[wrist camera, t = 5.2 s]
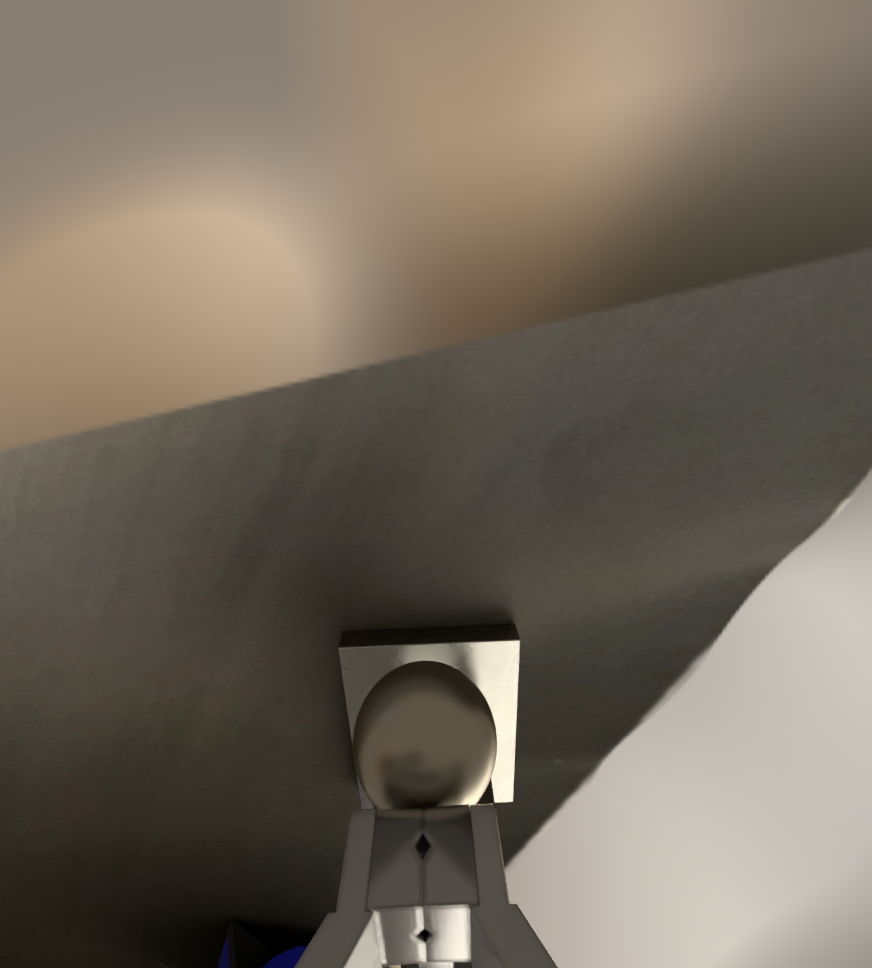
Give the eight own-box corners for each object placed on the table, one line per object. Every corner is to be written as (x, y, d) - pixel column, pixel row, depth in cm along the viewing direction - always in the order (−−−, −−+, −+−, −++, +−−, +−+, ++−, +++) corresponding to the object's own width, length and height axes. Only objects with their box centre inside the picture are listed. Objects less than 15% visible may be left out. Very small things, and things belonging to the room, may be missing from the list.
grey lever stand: (342, 631, 22) (242, 1002, 10) (515, 623, 22) (623, 980, 10) (363, 788, 26) (313, 1181, 14) (509, 781, 26) (579, 1165, 14)
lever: (358, 635, 12) (330, 748, 8) (486, 629, 12) (510, 739, 8) (391, 959, 16) (381, 1125, 12) (487, 953, 16) (504, 1118, 12)
